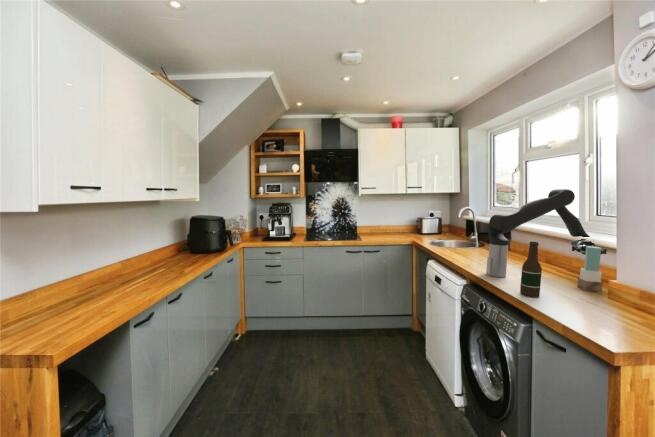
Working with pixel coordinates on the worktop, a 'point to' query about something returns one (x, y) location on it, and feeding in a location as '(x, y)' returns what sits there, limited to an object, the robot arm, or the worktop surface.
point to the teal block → (592, 258)
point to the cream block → (590, 275)
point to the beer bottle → (531, 273)
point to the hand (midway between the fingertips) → (590, 251)
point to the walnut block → (589, 286)
